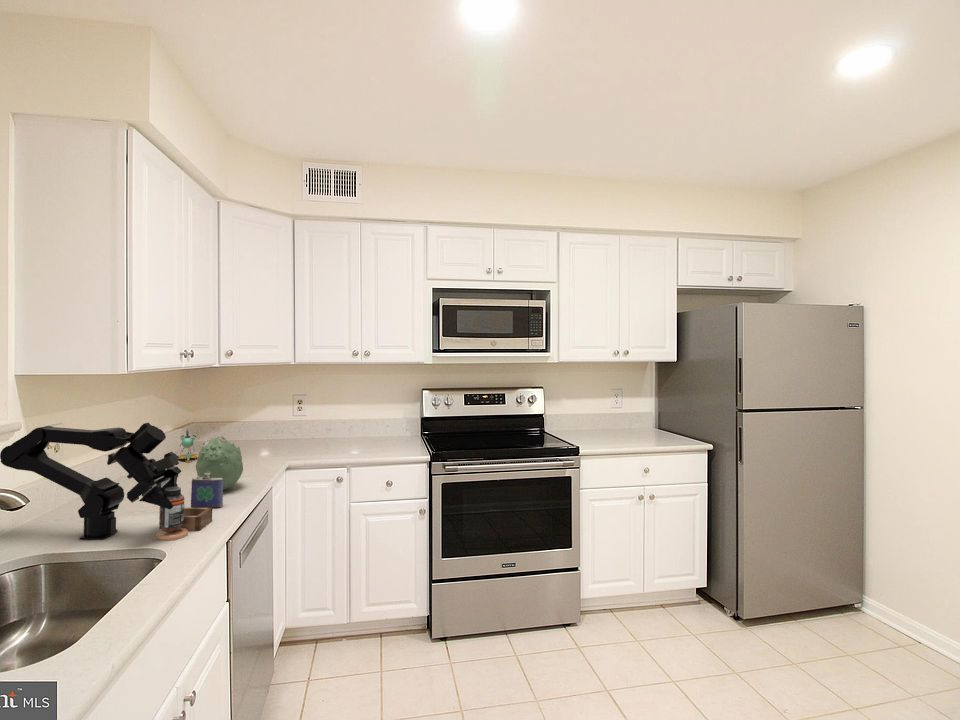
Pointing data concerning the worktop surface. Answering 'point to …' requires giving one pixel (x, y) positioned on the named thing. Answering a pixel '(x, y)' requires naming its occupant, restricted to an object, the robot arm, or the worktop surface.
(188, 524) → the wooden box
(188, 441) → the teal round figure
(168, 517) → the supplement bottle
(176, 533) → the tan flat disc
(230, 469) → the green bumpy egg shape
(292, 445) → the worktop surface
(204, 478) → the flask
